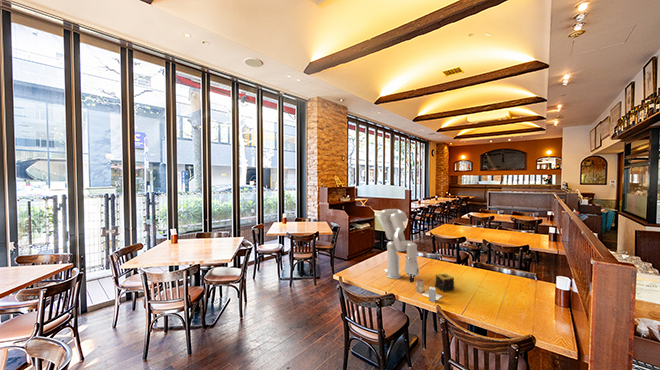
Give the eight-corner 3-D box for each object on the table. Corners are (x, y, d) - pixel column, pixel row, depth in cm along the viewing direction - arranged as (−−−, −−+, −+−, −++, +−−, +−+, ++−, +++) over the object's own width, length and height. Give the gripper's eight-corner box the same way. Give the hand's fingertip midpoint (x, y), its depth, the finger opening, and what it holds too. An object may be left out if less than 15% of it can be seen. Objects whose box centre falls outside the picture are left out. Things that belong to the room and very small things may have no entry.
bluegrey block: (428, 301, 184) (428, 288, 184) (429, 298, 188) (429, 286, 187) (434, 302, 182) (434, 289, 182) (435, 300, 185) (435, 287, 185)
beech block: (416, 291, 199) (416, 280, 199) (418, 290, 202) (418, 278, 202) (421, 293, 196) (421, 281, 196) (423, 291, 199) (423, 280, 199)
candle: (443, 292, 198) (443, 279, 198) (434, 286, 208) (434, 274, 207) (454, 290, 201) (454, 277, 200) (445, 285, 210) (445, 273, 210)
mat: (421, 295, 193) (421, 294, 193) (426, 291, 200) (426, 290, 200) (437, 300, 185) (437, 300, 185) (442, 296, 191) (442, 295, 191)
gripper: (400, 257, 206) (400, 280, 206) (418, 262, 195) (418, 286, 196) (405, 255, 211) (405, 278, 212) (423, 260, 200) (423, 283, 201)
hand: (411, 281), depth 204 cm, fingers closed
